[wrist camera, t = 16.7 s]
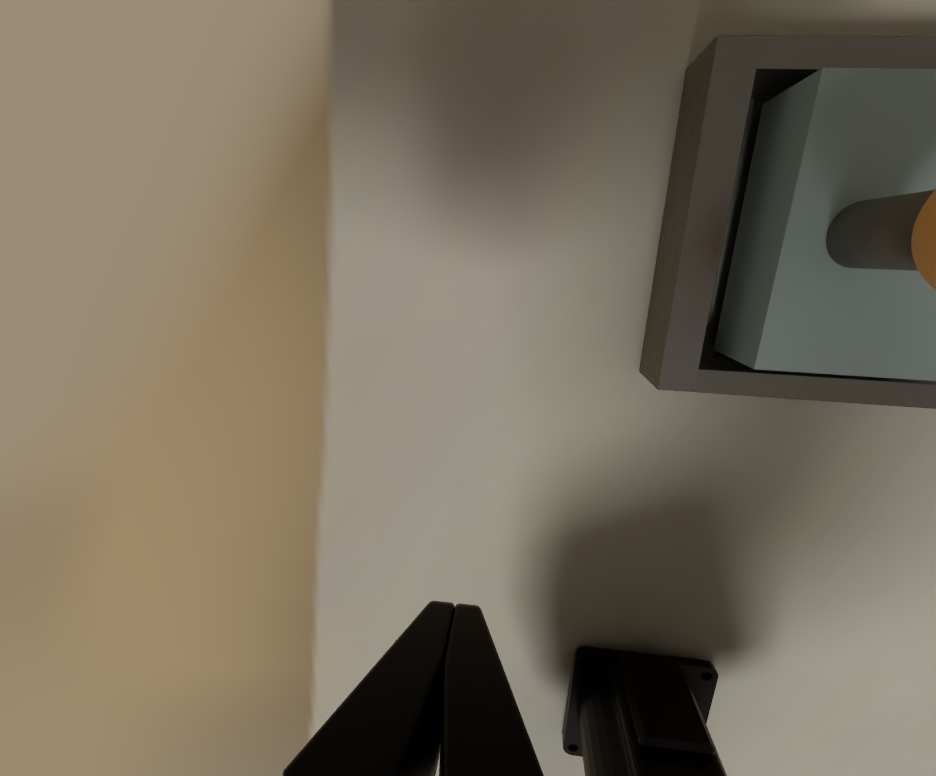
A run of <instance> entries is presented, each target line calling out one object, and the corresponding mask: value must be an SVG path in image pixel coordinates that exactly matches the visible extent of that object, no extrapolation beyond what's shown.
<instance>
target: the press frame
mask: <svg viewBox="0 0 936 776" xmlns="http://www.w3.org/2000/svg"><path fill="white" fill-rule="evenodd" d="M822 68H889V69H936V37H910V36H777V35H718V36H717V37H716V38H715V39H714V40H713V41H712V42H711V43H710V44H709V45H708V46H707V47H706V49H705V50H704V51H703V52H702V53H701V54H700V55H699V56H698V57H697V58H696V59H695V60H694V61H693V63H692V64H691V65H690V66H689V67H688V68H687V69H686V75H685V81H684V88H683V94H682V100H681V107H680V113H679V120H678V126H677V133H676V139H675V145H674V152H673V158H672V165H671V171H670V178H669V184H668V190H667V197H666V203H665V210H664V216H663V223H662V229H661V236H660V242H659V248H658V255H657V261H656V268H655V274H654V281H653V287H652V293H651V300H650V306H649V313H648V319H647V326H646V332H645V339H644V345H643V351H642V358H641V364H640V371H639V372H640V373H641V374H642V375H643V376H644V377H645V378H646V379H648V380H649V381H650V382H651V383H652V384H653V385H654V386H655V387H656V388H657V389H658V390H673V391H687V392H702V393H716V394H731V395H745V396H760V397H775V398H789V399H804V400H818V401H833V402H847V403H862V404H876V405H891V406H905V407H920V408H934V409H936V381H929V380H913V379H898V378H882V377H867V376H851V375H835V374H820V373H804V372H789V371H773V370H758V369H753V368H750V367H748V366H746V365H744V364H742V363H740V362H738V361H736V360H734V359H732V358H730V357H715V356H701V353H702V348H703V343H704V337H705V332H706V327H707V322H708V317H709V311H710V306H711V301H712V296H713V291H714V285H715V280H716V275H717V270H718V265H719V260H720V254H721V249H722V244H723V239H724V234H725V228H726V223H727V218H728V213H729V208H730V202H731V197H732V192H733V187H734V182H735V176H736V171H737V166H738V161H739V156H740V151H741V145H742V140H743V135H744V130H745V125H746V119H747V114H748V109H749V104H750V99H751V98H774V97H775V96H777V95H779V94H780V93H782V92H784V91H785V90H787V89H788V88H790V87H792V86H793V85H795V84H797V83H798V82H800V81H802V80H803V79H805V78H807V77H808V76H810V75H812V74H813V73H815V72H817V71H818V70H820V69H822Z"/></svg>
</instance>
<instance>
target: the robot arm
mask: <svg viewBox="0 0 936 776" xmlns="http://www.w3.org/2000/svg"><path fill="white" fill-rule="evenodd" d="M583 658H588V659H583ZM704 672H706V673H704ZM717 679H718V673H717V671H716V669H715V667H714V665H713V664H712V663H711V662H709V661H706V660H697V659H688V658H680V657H671V656H662V655H654V654H645V653H636V652H627V651H619V650H610V649H601V648H593V647H580V648H578V649H577V650H576V651H575V653H574V659H573V666H572V673H571V680H570V687H569V695H568V702H567V709H566V716H565V724H564V731H563V738H562V739H563V749H564V751H565V752H566V753H568V754H570V755H575V756H583V762H584V770H585V776H727V775H726V773H725V770H724V768H723V765H722V763H721V760H720V758H719V755H718V753H717V750H716V748H715V745H714V743H713V741H712V738H711V736H710V733H709V731H708V728H707V726H706V722H707V718H708V715H709V711H710V707H711V703H712V699H713V695H714V691H715V687H716V683H717ZM439 754H440V768H439V776H544V775H543V772H542V770H541V767H540V765H539V762H538V759H537V757H536V754H535V751H534V749H533V746H532V743H531V741H530V738H529V735H528V733H527V730H526V727H525V725H524V722H523V719H522V717H521V714H520V711H519V709H518V706H517V704H516V701H515V698H514V696H513V693H512V690H511V688H510V685H509V682H508V680H507V677H506V674H505V672H504V669H503V666H502V664H501V661H500V658H499V656H498V653H497V651H496V648H495V645H494V643H493V640H492V637H491V635H490V632H489V629H488V627H487V624H486V621H485V619H484V616H483V613H482V611H481V609H480V607H478V606H476V605H468V604H457V605H456V606H454V604H453V603H449V602H440V601H431V602H430V603H429V604H428V605H427V606H426V607H425V608H424V609H423V610H422V612H421V613H420V614H419V615H418V616H417V617H416V619H415V620H414V621H413V622H412V623H411V624H410V625H409V627H408V628H407V629H406V630H405V631H404V632H403V634H402V635H401V636H400V637H399V638H398V639H397V640H396V642H395V643H394V644H393V645H392V646H391V647H390V649H389V650H388V651H387V652H386V653H385V654H384V655H383V657H382V658H381V659H380V660H379V661H378V662H377V664H376V665H375V666H374V667H373V668H372V669H371V670H370V672H369V673H368V674H367V675H366V676H365V677H364V679H363V680H362V681H361V682H360V683H359V684H358V685H357V687H356V688H355V689H354V690H353V691H352V692H351V694H350V695H349V696H348V697H347V698H346V699H345V700H344V702H343V703H342V704H341V705H340V706H339V707H338V709H337V710H336V711H335V712H334V713H333V714H332V715H331V717H330V718H329V719H328V720H327V721H326V722H325V724H324V725H323V726H322V727H321V728H320V729H319V730H318V732H317V733H316V734H315V735H314V736H313V737H312V739H311V740H310V741H309V742H308V743H307V744H306V745H305V747H304V748H303V749H302V750H301V751H300V752H299V754H298V755H297V756H296V757H295V758H294V759H293V761H292V762H291V763H290V764H289V765H288V766H287V767H286V769H285V770H284V771H283V776H435V774H436V769H437V765H438V760H439Z"/></svg>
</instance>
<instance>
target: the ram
mask: <svg viewBox="0 0 936 776" xmlns="http://www.w3.org/2000/svg"><path fill="white" fill-rule="evenodd" d="M714 350H715V351H717V352H719V353H721V354H724V355H726V356H728V357H730V358H732V359H734V360H736V361H738V362H740V363H742V364H744V365H746V366H748V367H750V368H753V369H758V370H773V371H789V372H804V373H820V374H835V375H851V376H867V377H882V378H898V379H913V380H929V381H936V69H889V68H822V69H820V70H818V71H817V72H815V73H813V74H812V75H810V76H808V77H807V78H805V79H803V80H802V81H800V82H798V83H797V84H795V85H793V86H792V87H790V88H788V89H787V90H785V91H784V92H782V93H780V94H779V95H777V96H775V97H774V98H772V99H770V100H769V101H767V102H765V103H764V104H763V106H762V111H761V116H760V121H759V126H758V131H757V136H756V141H755V146H754V151H753V156H752V161H751V166H750V171H749V176H748V181H747V186H746V191H745V196H744V201H743V206H742V211H741V216H740V221H739V226H738V231H737V236H736V241H735V246H734V251H733V256H732V261H731V266H730V271H729V276H728V281H727V286H726V291H725V296H724V301H723V306H722V311H721V316H720V321H719V326H718V331H717V336H716V341H715V346H714Z"/></svg>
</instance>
